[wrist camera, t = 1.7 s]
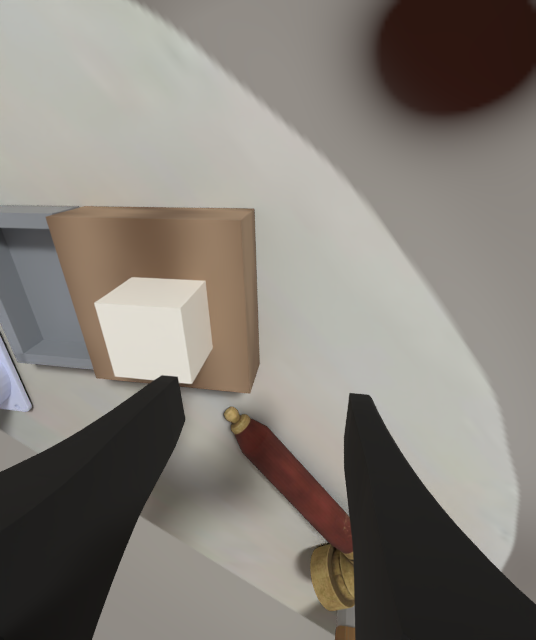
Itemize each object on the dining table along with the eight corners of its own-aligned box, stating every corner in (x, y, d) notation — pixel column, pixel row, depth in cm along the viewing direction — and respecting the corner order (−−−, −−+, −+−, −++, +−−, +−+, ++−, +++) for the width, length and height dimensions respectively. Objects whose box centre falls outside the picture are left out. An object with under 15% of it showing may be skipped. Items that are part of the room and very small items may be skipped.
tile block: (146, 342, 19) (114, 376, 17) (131, 277, 18) (94, 302, 15) (212, 347, 19) (192, 383, 16) (205, 280, 17) (180, 308, 14)
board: (122, 352, 24) (96, 378, 21) (83, 206, 19) (45, 216, 17) (259, 364, 23) (249, 393, 20) (254, 208, 18) (240, 220, 15)
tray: (41, 345, 25) (17, 362, 23) (-14, 205, 20) (-49, 211, 18) (118, 351, 24) (99, 370, 22) (79, 206, 19) (51, 213, 18)
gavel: (168, 457, 24) (273, 400, 20) (194, 415, 28) (285, 360, 24) (338, 623, 29) (454, 605, 24) (339, 565, 33) (439, 541, 28)
